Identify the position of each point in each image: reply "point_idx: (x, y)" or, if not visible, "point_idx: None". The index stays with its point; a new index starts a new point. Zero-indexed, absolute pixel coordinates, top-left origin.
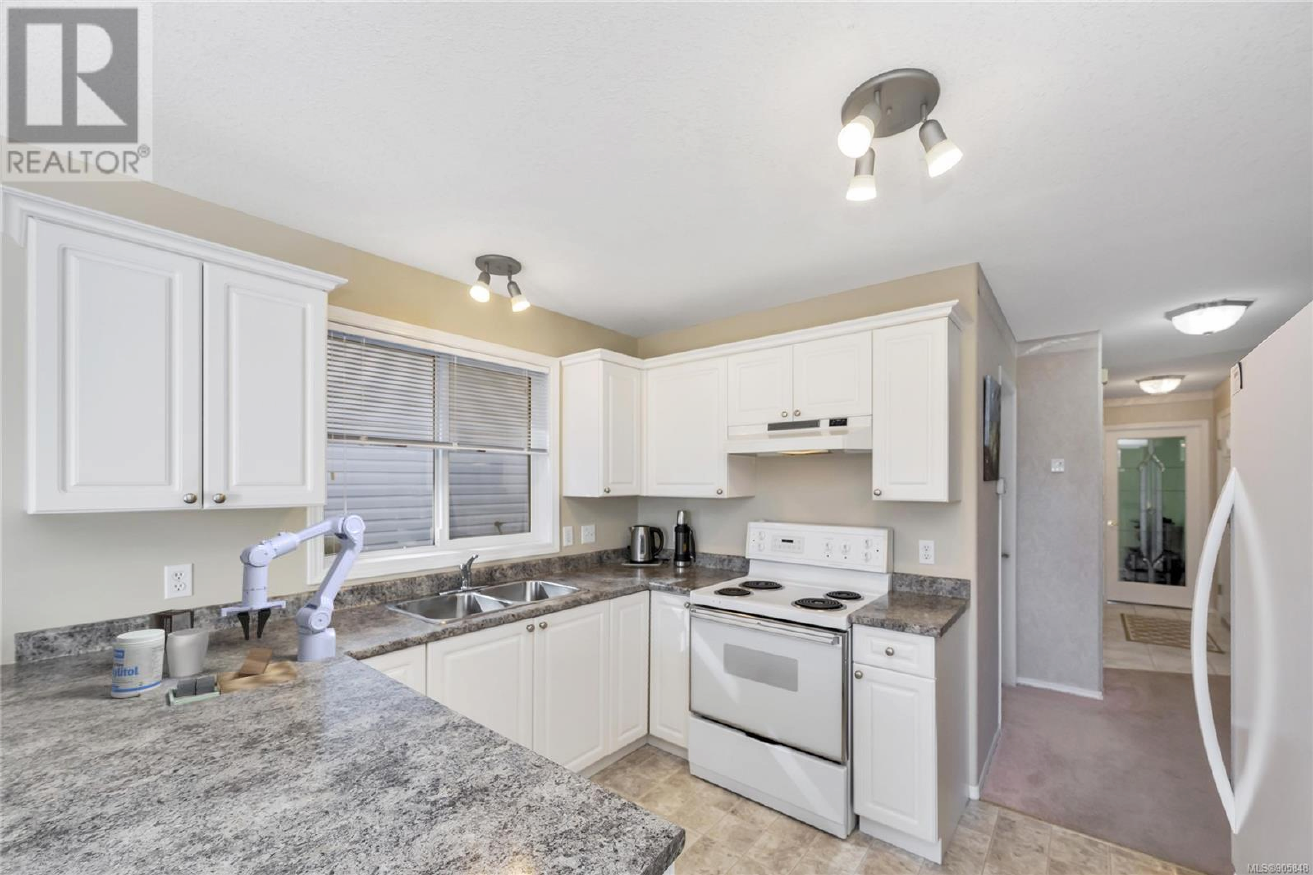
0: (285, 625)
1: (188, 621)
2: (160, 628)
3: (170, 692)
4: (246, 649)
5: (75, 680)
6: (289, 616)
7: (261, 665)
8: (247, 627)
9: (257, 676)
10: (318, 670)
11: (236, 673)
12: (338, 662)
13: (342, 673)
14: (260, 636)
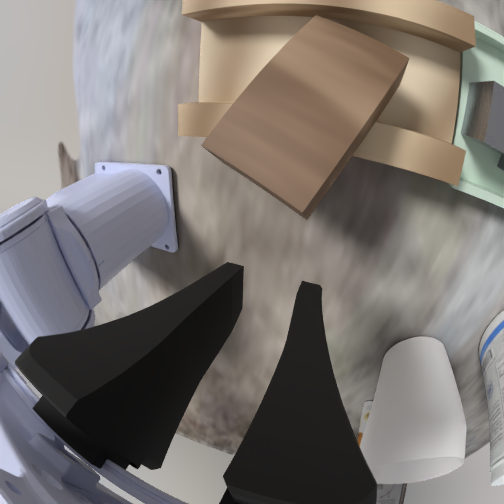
0: (187, 424)
1: None
2: (404, 494)
3: None
4: (251, 404)
5: (466, 433)
6: (183, 435)
7: (298, 53)
8: (296, 360)
9: None
10: (137, 89)
11: (398, 128)
12: (95, 135)
13: (107, 22)
14: (223, 267)
